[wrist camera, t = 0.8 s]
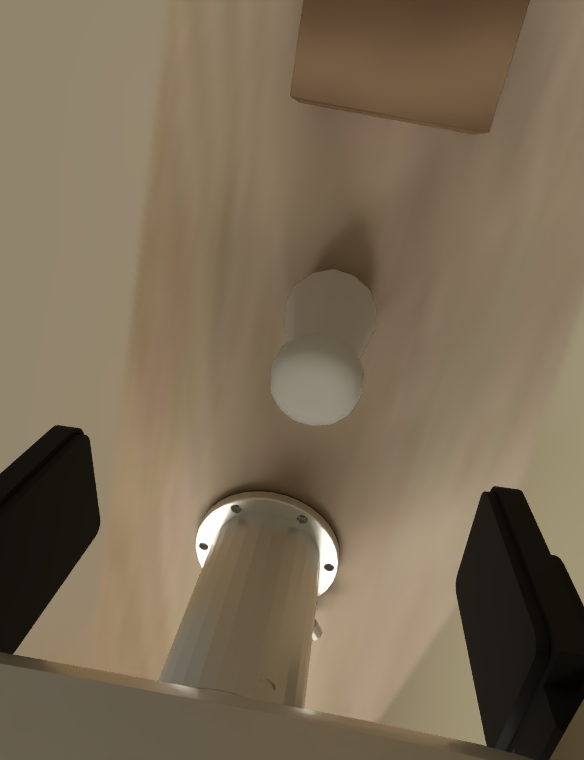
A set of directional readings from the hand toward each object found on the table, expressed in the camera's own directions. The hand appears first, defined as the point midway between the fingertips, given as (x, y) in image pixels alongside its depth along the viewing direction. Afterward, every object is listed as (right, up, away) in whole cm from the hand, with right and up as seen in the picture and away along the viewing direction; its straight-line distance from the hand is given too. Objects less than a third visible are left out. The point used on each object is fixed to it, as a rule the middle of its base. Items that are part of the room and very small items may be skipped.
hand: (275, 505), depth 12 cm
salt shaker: (+3, +8, +22) cm, 23 cm away
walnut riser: (+7, +22, +14) cm, 27 cm away
